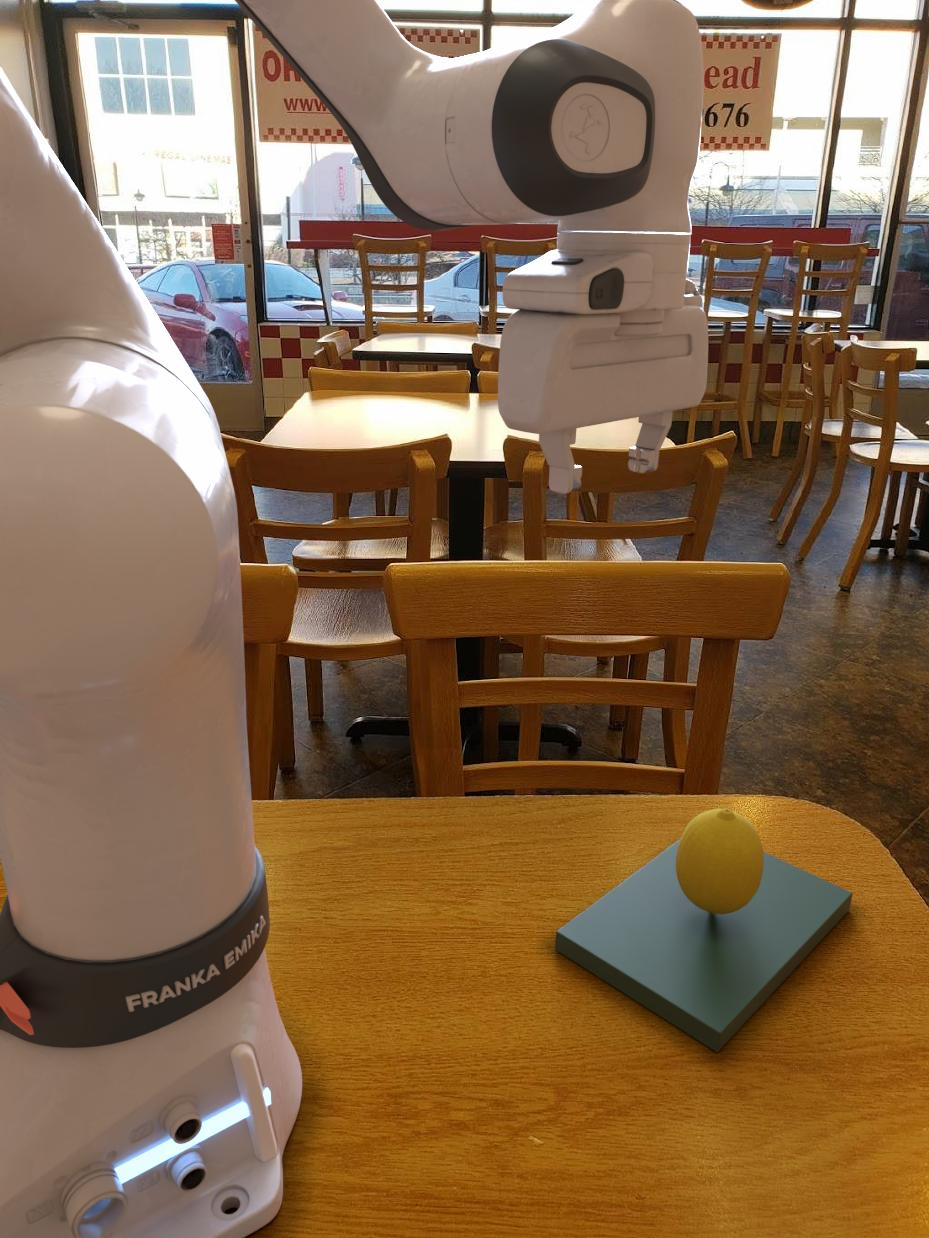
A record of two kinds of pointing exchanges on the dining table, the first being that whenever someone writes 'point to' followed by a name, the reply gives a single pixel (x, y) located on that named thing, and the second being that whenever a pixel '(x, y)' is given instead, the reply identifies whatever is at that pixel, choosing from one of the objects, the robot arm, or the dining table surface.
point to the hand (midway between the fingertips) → (605, 480)
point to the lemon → (719, 861)
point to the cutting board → (702, 943)
